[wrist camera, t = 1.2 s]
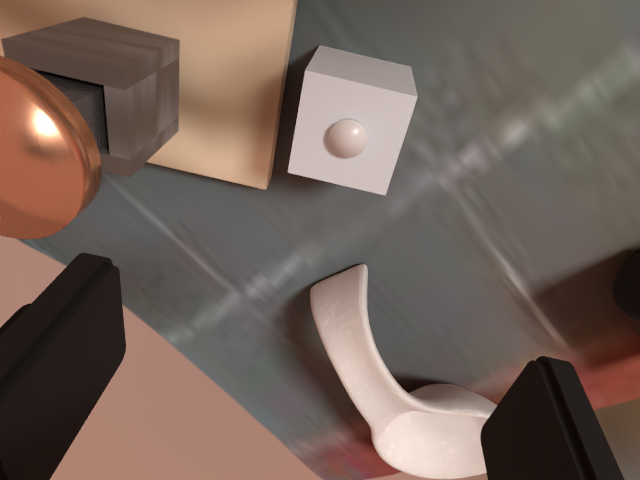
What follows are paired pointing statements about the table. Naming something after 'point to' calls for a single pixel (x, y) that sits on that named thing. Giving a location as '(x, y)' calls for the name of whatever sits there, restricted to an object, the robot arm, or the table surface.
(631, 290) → the end cap
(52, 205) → the disc
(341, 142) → the block
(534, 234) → the table surface
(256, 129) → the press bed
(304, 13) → the table surface
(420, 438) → the spoon rest
